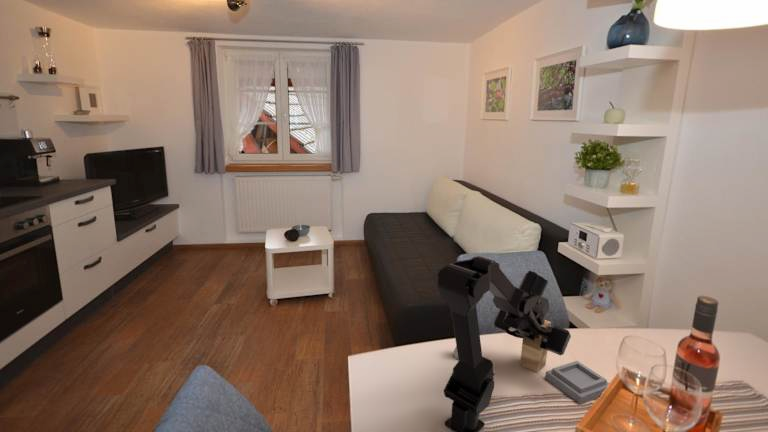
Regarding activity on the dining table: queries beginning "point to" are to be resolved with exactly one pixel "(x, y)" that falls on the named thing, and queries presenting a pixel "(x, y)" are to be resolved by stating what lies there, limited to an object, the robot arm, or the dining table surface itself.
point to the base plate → (577, 381)
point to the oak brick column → (534, 352)
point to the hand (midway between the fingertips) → (538, 341)
